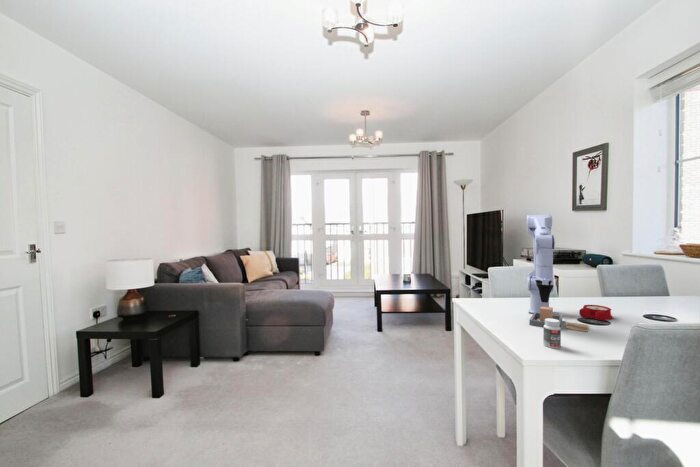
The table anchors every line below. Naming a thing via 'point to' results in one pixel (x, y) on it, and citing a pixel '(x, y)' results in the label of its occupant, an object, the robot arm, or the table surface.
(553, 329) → the pill bottle
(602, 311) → the alarm clock
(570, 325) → the walnut pad
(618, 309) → the table surface
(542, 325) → the gray rectangular frame
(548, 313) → the block
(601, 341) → the table surface
